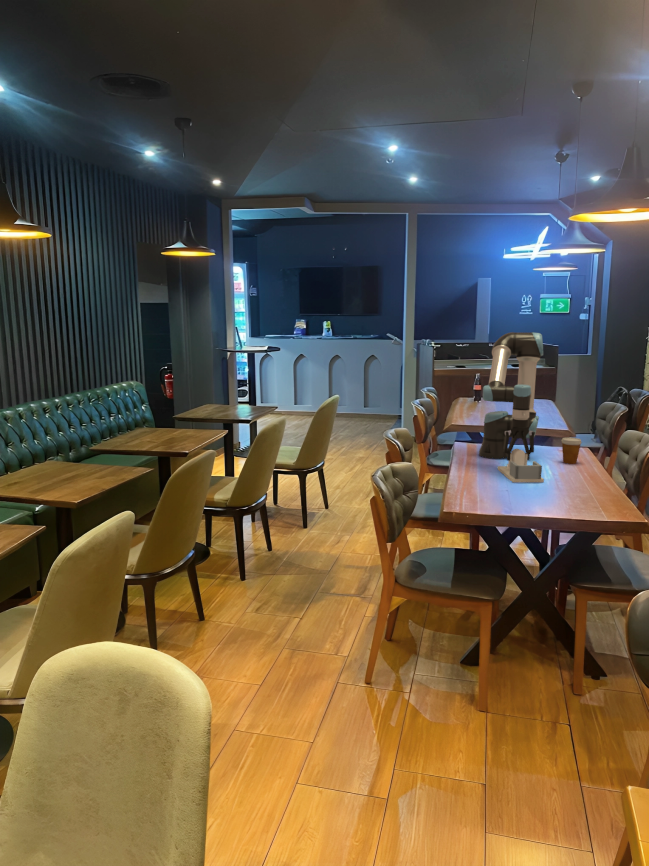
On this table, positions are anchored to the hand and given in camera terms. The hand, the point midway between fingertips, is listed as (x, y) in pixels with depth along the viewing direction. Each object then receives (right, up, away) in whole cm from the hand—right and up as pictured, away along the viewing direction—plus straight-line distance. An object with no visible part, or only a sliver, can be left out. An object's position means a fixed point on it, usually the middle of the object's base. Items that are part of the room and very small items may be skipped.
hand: (517, 467), depth 291 cm
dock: (0, -4, -3) cm, 5 cm away
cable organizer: (0, -2, 0) cm, 2 cm away
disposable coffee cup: (+33, +1, +21) cm, 39 cm away
